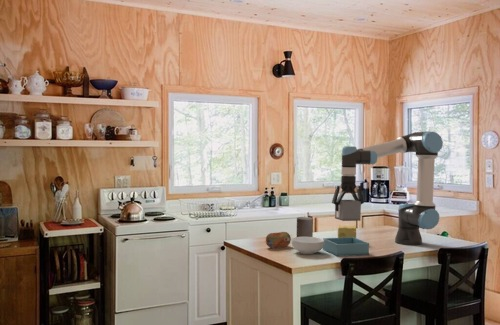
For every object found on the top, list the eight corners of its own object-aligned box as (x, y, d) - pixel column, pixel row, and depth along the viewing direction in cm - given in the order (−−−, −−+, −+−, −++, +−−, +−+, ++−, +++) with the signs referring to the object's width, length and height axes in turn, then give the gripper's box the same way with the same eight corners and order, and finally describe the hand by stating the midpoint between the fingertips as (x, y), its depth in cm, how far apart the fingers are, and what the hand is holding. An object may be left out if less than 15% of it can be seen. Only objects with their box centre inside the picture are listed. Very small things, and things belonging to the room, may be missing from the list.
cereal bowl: (301, 257, 243) (301, 243, 243) (286, 250, 258) (286, 237, 258) (330, 254, 250) (330, 241, 250) (313, 248, 265) (313, 235, 265)
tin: (267, 248, 263) (267, 233, 263) (264, 247, 266) (264, 232, 266) (291, 246, 270) (291, 231, 270) (288, 245, 273) (288, 230, 273)
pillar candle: (293, 241, 286) (293, 215, 286) (302, 238, 294) (302, 214, 293) (306, 243, 280) (307, 217, 279) (315, 240, 288) (316, 215, 287)
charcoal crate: (351, 218, 263) (352, 199, 263) (360, 220, 253) (360, 201, 253) (334, 218, 260) (335, 199, 260) (342, 220, 251) (343, 201, 250)
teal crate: (353, 247, 267) (353, 237, 267) (368, 254, 250) (368, 243, 250) (322, 249, 263) (322, 238, 263) (336, 256, 245) (336, 244, 245)
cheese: (356, 246, 273) (356, 228, 273) (337, 245, 275) (337, 227, 275) (356, 242, 283) (356, 225, 283) (337, 241, 286) (337, 224, 285)
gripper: (364, 175, 263) (363, 216, 263) (325, 174, 257) (324, 216, 258) (371, 175, 255) (370, 217, 256) (331, 175, 250) (330, 218, 250)
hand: (347, 217), depth 257 cm, fingers closed on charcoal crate, 10 cm apart
